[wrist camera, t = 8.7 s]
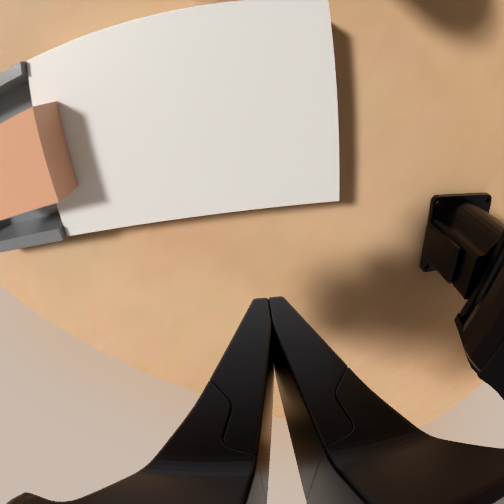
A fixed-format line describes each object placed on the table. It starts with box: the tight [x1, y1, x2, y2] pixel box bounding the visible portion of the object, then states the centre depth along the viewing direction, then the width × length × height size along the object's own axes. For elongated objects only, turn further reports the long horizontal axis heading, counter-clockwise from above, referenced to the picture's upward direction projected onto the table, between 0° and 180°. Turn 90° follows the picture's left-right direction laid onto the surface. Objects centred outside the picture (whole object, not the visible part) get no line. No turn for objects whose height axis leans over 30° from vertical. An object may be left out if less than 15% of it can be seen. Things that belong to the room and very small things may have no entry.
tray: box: [0, 62, 67, 252], centre depth 15 cm, size 9×11×4 cm
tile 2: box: [0, 101, 79, 221], centre depth 13 cm, size 5×5×2 cm
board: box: [27, 0, 339, 236], centre depth 15 cm, size 16×11×3 cm
